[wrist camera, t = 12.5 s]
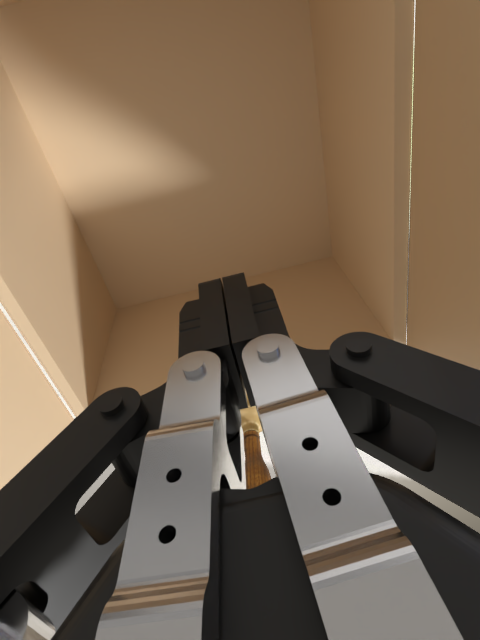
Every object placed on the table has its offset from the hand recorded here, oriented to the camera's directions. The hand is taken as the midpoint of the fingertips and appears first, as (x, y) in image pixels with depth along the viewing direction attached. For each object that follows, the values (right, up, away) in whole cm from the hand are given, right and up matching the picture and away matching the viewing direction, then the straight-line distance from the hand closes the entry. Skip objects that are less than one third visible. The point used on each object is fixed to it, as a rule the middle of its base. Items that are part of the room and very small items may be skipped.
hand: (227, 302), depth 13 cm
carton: (-3, +12, +19) cm, 22 cm away
